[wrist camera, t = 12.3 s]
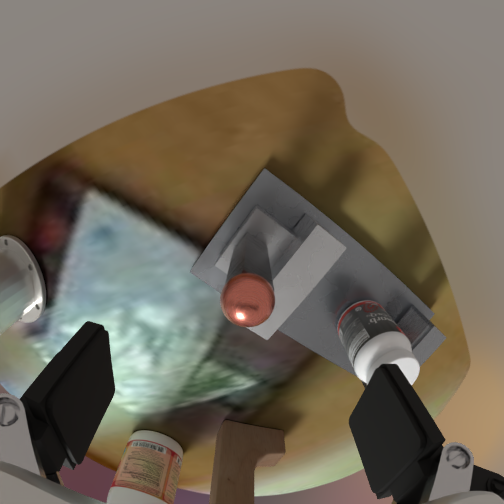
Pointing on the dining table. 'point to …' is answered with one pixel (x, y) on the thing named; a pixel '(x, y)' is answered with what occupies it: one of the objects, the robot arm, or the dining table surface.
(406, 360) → the pill bottle
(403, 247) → the dining table surface
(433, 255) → the dining table surface
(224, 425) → the wooden block
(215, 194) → the dining table surface
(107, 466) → the dining table surface
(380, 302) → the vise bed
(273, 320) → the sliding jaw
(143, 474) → the fruit juice
